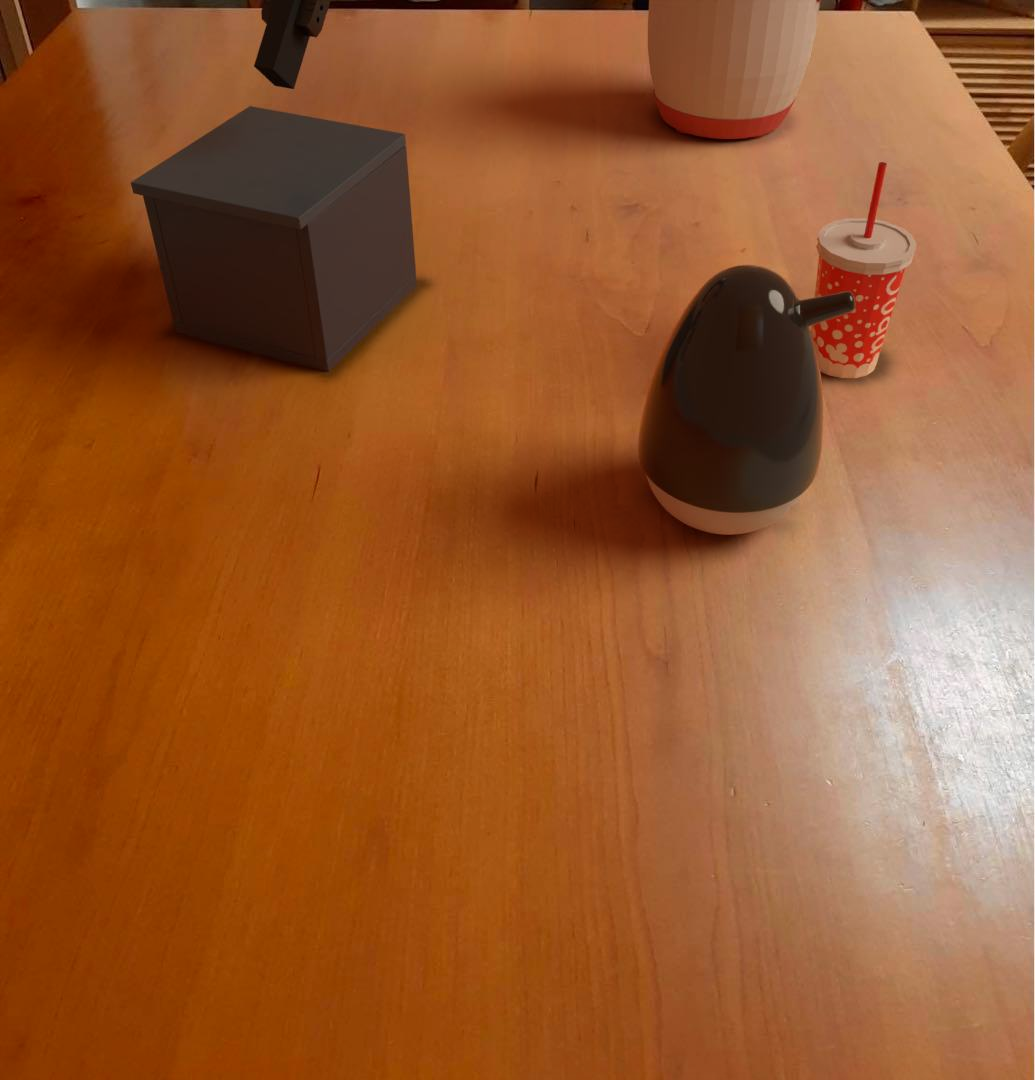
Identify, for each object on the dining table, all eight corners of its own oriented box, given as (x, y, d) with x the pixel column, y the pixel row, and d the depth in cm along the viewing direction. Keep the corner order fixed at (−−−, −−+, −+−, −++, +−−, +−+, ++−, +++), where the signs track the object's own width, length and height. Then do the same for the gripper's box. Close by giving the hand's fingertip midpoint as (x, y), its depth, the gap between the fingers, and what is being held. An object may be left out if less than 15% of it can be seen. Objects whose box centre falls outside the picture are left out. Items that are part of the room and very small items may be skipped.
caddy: (328, 372, 79) (307, 224, 72) (175, 332, 83) (140, 188, 76) (417, 285, 88) (406, 145, 81) (274, 253, 92) (251, 117, 85)
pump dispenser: (813, 571, 64) (865, 333, 54) (625, 551, 66) (641, 315, 55) (811, 459, 72) (856, 231, 61) (642, 442, 73) (659, 218, 63)
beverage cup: (840, 395, 77) (883, 195, 67) (778, 352, 81) (809, 157, 71) (907, 367, 79) (957, 169, 70) (843, 326, 83) (882, 135, 74)
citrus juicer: (826, 158, 104) (869, -89, 91) (632, 147, 106) (646, -96, 93) (820, 92, 115) (858, -136, 102) (645, 83, 118) (659, -141, 104)
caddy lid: (300, 230, 72) (298, 218, 71) (132, 193, 76) (129, 182, 75) (406, 144, 81) (405, 133, 80) (251, 116, 85) (249, 105, 84)
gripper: (488, -221, 77) (385, 119, 77) (320, -233, 81) (222, 89, 81) (447, -310, 70) (333, 64, 70) (266, -319, 74) (158, 35, 74)
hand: (274, 77), depth 76 cm, fingers closed
